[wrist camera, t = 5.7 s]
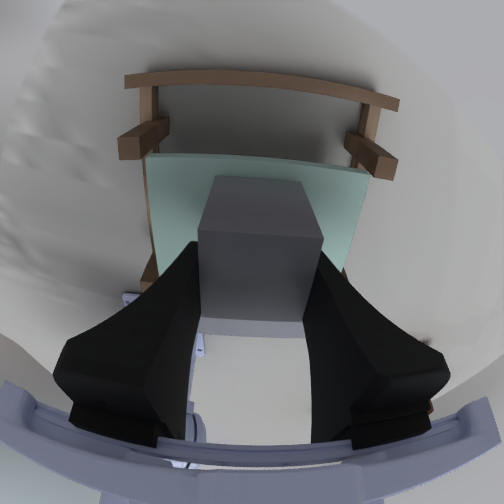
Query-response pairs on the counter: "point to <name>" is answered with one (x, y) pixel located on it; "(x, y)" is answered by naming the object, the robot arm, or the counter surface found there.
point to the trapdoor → (208, 165)
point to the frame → (156, 129)
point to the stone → (257, 250)
